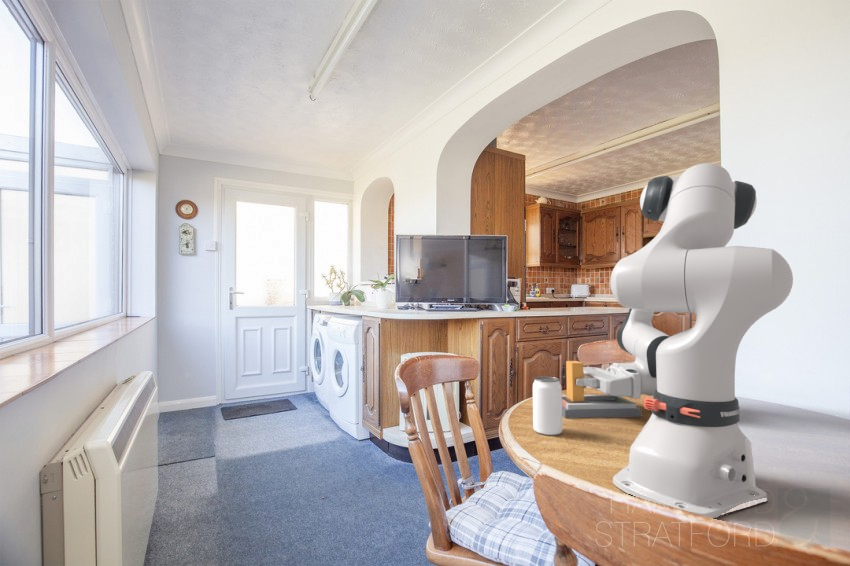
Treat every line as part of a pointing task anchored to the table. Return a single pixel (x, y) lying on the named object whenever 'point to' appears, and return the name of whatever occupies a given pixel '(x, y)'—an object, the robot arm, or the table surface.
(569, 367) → the handle
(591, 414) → the grey tray
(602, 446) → the table surface
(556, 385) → the can
